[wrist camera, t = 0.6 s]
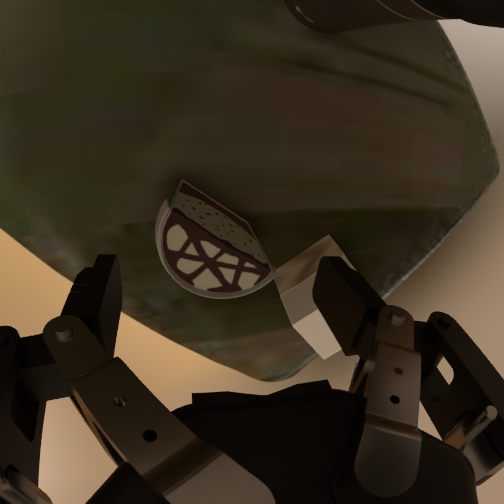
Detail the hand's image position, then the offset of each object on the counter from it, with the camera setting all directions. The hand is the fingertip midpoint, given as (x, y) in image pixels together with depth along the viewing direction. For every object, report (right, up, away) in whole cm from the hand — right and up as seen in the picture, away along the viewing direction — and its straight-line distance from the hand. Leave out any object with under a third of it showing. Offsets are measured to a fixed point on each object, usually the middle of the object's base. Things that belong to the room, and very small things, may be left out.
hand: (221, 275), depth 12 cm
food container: (-5, +4, +24) cm, 25 cm away
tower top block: (+11, -5, +27) cm, 29 cm away
